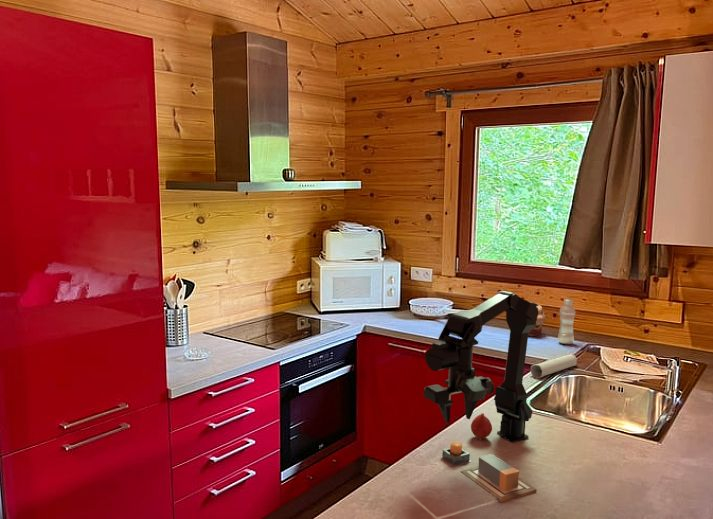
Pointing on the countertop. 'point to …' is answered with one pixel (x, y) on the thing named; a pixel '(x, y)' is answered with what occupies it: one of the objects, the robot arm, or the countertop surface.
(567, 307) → the plastic bottle
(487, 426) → the onion
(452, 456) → the button collar
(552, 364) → the tube
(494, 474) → the grey orange block
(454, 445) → the button
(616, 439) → the countertop surface
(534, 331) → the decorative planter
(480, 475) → the picture frame
